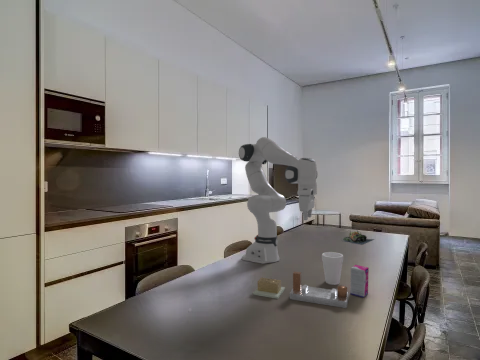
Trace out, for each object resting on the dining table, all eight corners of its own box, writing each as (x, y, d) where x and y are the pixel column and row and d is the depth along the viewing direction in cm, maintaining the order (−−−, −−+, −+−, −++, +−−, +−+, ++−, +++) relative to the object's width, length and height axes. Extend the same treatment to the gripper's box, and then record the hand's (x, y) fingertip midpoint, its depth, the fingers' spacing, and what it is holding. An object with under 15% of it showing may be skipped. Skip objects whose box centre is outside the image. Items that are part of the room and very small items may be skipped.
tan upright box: (257, 290, 129) (257, 281, 129) (261, 286, 134) (261, 277, 134) (277, 293, 125) (277, 284, 125) (281, 289, 130) (280, 280, 130)
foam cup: (336, 278, 146) (336, 251, 145) (347, 284, 137) (347, 256, 136) (318, 279, 144) (318, 252, 143) (328, 286, 135) (328, 258, 134)
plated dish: (347, 234, 252) (347, 225, 252) (382, 239, 233) (382, 230, 233) (328, 241, 227) (328, 232, 226) (365, 248, 208) (365, 238, 207)
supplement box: (364, 298, 122) (364, 270, 122) (349, 294, 126) (349, 267, 126) (368, 293, 126) (368, 266, 126) (354, 290, 130) (354, 264, 130)
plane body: (289, 299, 122) (289, 275, 122) (295, 290, 131) (295, 268, 131) (346, 308, 113) (346, 283, 113) (348, 298, 122) (348, 275, 122)
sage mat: (252, 294, 127) (252, 292, 127) (261, 285, 137) (261, 283, 137) (278, 298, 122) (278, 296, 122) (284, 289, 132) (284, 287, 132)
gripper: (305, 189, 158) (305, 215, 158) (296, 191, 139) (296, 221, 140) (317, 189, 156) (317, 216, 156) (310, 192, 137) (310, 222, 137)
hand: (307, 218), depth 148 cm, fingers open, 8 cm apart
